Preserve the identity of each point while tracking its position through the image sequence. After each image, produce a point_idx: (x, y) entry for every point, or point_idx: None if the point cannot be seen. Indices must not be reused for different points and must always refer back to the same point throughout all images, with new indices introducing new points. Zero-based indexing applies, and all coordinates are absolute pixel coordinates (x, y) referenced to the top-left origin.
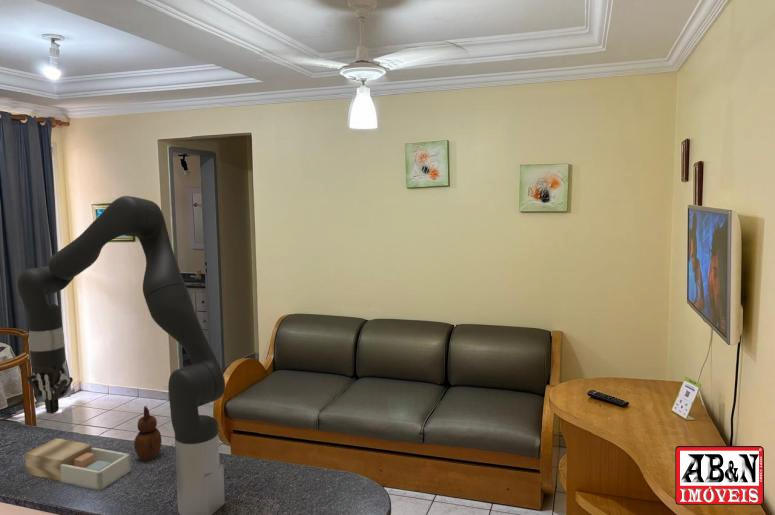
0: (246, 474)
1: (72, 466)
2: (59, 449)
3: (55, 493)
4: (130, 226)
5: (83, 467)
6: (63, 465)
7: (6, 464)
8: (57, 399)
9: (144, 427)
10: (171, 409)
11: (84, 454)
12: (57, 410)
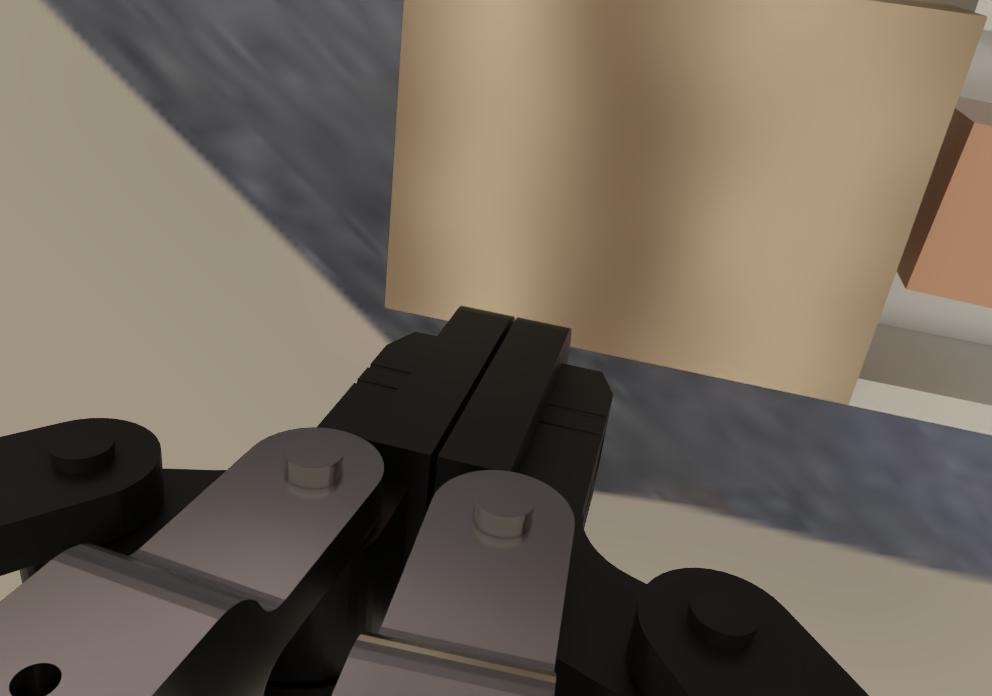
0: None
1: (980, 414)
2: (656, 193)
3: (871, 462)
4: None
5: None
6: (871, 402)
7: (169, 126)
8: (580, 524)
9: None
10: None
11: (968, 175)
12: (568, 340)
